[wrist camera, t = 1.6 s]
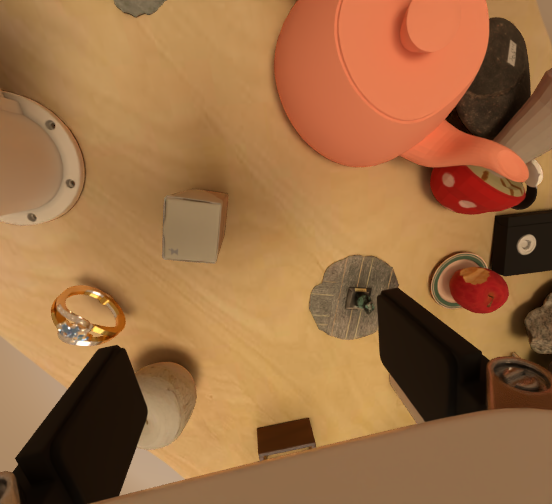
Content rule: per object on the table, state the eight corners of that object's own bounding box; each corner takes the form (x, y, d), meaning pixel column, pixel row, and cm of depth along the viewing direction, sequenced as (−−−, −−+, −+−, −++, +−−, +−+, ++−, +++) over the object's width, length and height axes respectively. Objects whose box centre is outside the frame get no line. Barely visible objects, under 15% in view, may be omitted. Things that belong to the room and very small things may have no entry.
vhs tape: (504, 276, 36) (491, 272, 38) (605, 263, 38) (587, 260, 40) (509, 217, 35) (495, 216, 37) (615, 205, 36) (596, 205, 38)
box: (224, 236, 34) (216, 268, 23) (186, 232, 33) (160, 263, 22) (229, 191, 32) (222, 202, 22) (189, 185, 32) (162, 195, 21)
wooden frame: (256, 428, 42) (258, 454, 38) (308, 417, 43) (315, 442, 39) (264, 466, 44) (266, 494, 41) (313, 456, 45) (320, 483, 41)
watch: (526, 198, 36) (556, 201, 33) (492, 214, 36) (518, 219, 33) (516, 138, 34) (547, 135, 30) (479, 156, 34) (506, 154, 31)
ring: (140, 307, 35) (112, 347, 27) (122, 324, 35) (89, 367, 28) (93, 268, 33) (48, 299, 25) (74, 286, 33) (23, 321, 26)
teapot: (479, 125, 33) (629, 99, 20) (367, 225, 35) (439, 259, 22) (348, -98, 26) (451, -354, 13) (217, 42, 28) (196, -63, 15)
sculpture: (381, 238, 36) (423, 291, 32) (374, 269, 44) (408, 314, 40) (296, 282, 36) (328, 340, 32) (305, 305, 44) (331, 354, 39)
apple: (417, 295, 39) (451, 320, 32) (450, 242, 37) (492, 257, 31) (463, 314, 40) (503, 341, 34) (496, 264, 39) (545, 283, 32)
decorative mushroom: (677, 137, 21) (484, 246, 32) (618, 86, 26) (470, 196, 38) (576, 68, 19) (411, 210, 31) (534, 30, 24) (407, 163, 36)
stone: (558, 49, 30) (503, 76, 35) (505, -24, 26) (450, 18, 30) (545, 146, 28) (488, 161, 33) (486, 86, 24) (430, 113, 28)
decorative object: (209, 391, 39) (198, 462, 30) (146, 408, 39) (115, 485, 30) (189, 337, 37) (170, 396, 27) (121, 354, 36) (78, 421, 27)
